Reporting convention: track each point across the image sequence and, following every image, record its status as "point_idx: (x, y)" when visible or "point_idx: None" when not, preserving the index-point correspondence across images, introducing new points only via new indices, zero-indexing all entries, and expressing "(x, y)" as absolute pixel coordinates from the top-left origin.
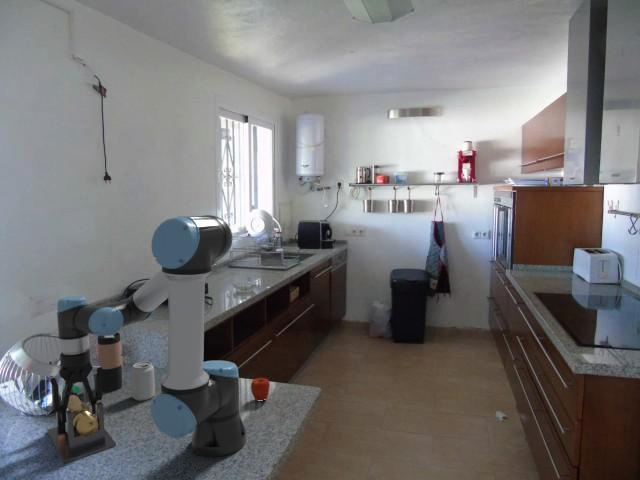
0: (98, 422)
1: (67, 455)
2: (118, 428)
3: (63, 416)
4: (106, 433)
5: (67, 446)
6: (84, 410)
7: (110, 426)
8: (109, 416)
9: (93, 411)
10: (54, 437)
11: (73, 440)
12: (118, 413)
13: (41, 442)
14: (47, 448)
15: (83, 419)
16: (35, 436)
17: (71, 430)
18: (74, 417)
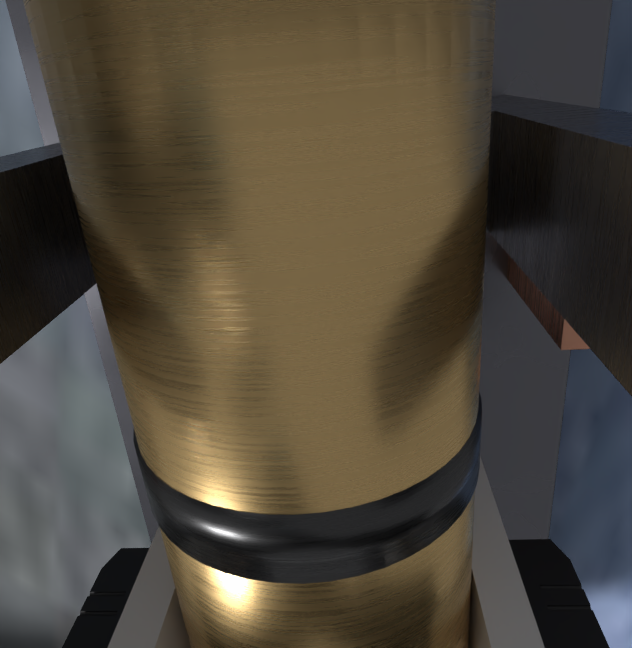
0: (77, 228)
1: (546, 57)
2: (5, 375)
3: (573, 632)
4: (102, 308)
5: (485, 279)
6: (241, 543)
7: (73, 451)
8: (77, 603)
9: (127, 582)
10: (528, 516)
11: (497, 107)
12: (9, 607)
13: (614, 524)
14: (614, 400)
15: (351, 3)
16: (613, 629)
17: (583, 116)
18: (464, 452)
